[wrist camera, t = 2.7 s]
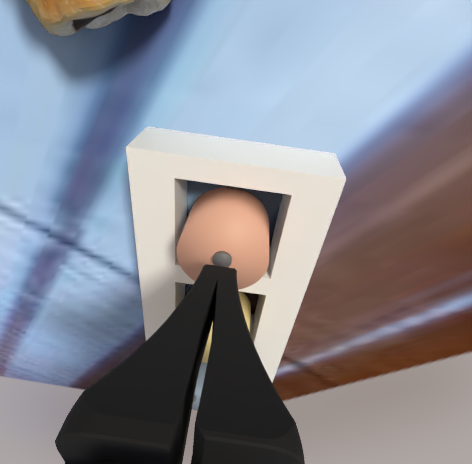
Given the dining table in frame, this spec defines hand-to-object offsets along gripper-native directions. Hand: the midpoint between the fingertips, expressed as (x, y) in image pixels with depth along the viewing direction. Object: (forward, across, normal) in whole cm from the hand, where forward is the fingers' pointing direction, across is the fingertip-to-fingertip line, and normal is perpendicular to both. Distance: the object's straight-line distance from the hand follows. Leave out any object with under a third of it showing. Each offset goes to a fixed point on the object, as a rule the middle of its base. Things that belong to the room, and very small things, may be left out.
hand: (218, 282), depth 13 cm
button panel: (+7, 0, +7) cm, 10 cm away
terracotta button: (+5, 0, 0) cm, 5 cm away
